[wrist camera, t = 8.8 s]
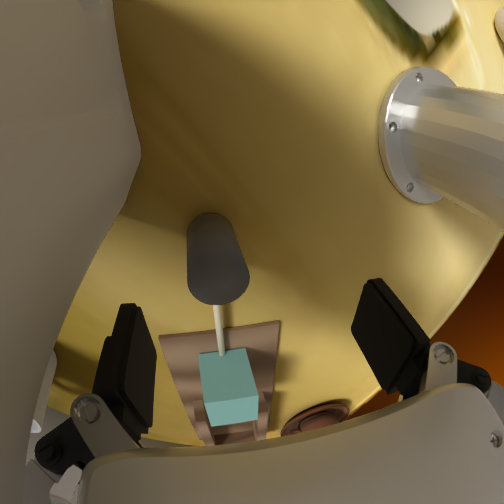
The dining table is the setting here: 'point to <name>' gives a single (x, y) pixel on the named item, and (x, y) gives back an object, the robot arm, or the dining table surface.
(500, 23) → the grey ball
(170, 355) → the lane
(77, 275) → the tall white carton
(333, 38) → the dining table surface
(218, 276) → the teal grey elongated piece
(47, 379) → the cup
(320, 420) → the cup and saucer
